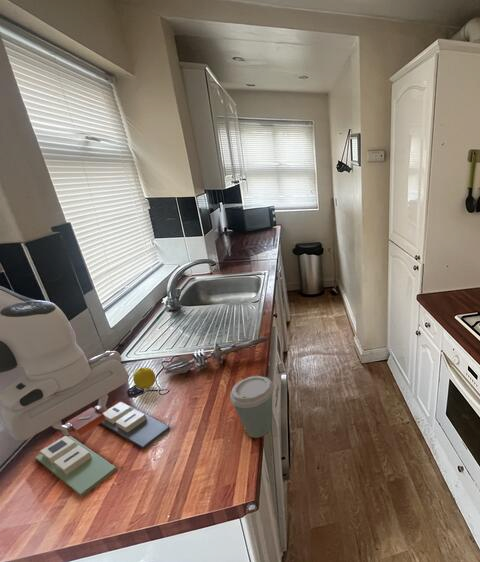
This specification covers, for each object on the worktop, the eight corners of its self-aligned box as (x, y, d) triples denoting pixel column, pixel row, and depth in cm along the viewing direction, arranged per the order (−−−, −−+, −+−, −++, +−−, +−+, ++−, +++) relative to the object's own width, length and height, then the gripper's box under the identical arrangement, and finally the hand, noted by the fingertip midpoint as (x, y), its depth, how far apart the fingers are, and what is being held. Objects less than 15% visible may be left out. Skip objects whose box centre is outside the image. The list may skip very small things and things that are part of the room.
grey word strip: (97, 421, 88) (94, 414, 87) (124, 404, 93) (121, 397, 92) (143, 449, 79) (140, 441, 78) (170, 429, 85) (167, 421, 83)
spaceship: (268, 339, 110) (264, 323, 115) (158, 375, 99) (159, 355, 104) (272, 351, 116) (268, 335, 121) (169, 386, 105) (169, 367, 110)
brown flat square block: (68, 428, 69) (65, 422, 69) (94, 412, 74) (91, 406, 73) (79, 436, 67) (76, 429, 67) (106, 419, 72) (103, 413, 71)
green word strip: (36, 459, 77) (31, 451, 76) (71, 438, 83) (67, 430, 82) (81, 497, 68) (76, 488, 67) (117, 469, 74) (113, 461, 73)
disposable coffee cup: (249, 413, 89) (239, 371, 83) (286, 413, 89) (278, 371, 83) (232, 445, 79) (220, 400, 74) (273, 445, 79) (264, 400, 73)
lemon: (161, 386, 101) (154, 366, 98) (142, 396, 97) (134, 376, 93) (153, 380, 104) (146, 360, 101) (135, 390, 99) (126, 370, 96)
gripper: (109, 344, 75) (127, 388, 80) (-16, 400, 58) (18, 452, 63) (124, 350, 72) (142, 395, 78) (-2, 411, 55) (32, 464, 60)
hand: (86, 421), depth 70 cm, fingers closed on brown flat square block, 5 cm apart
